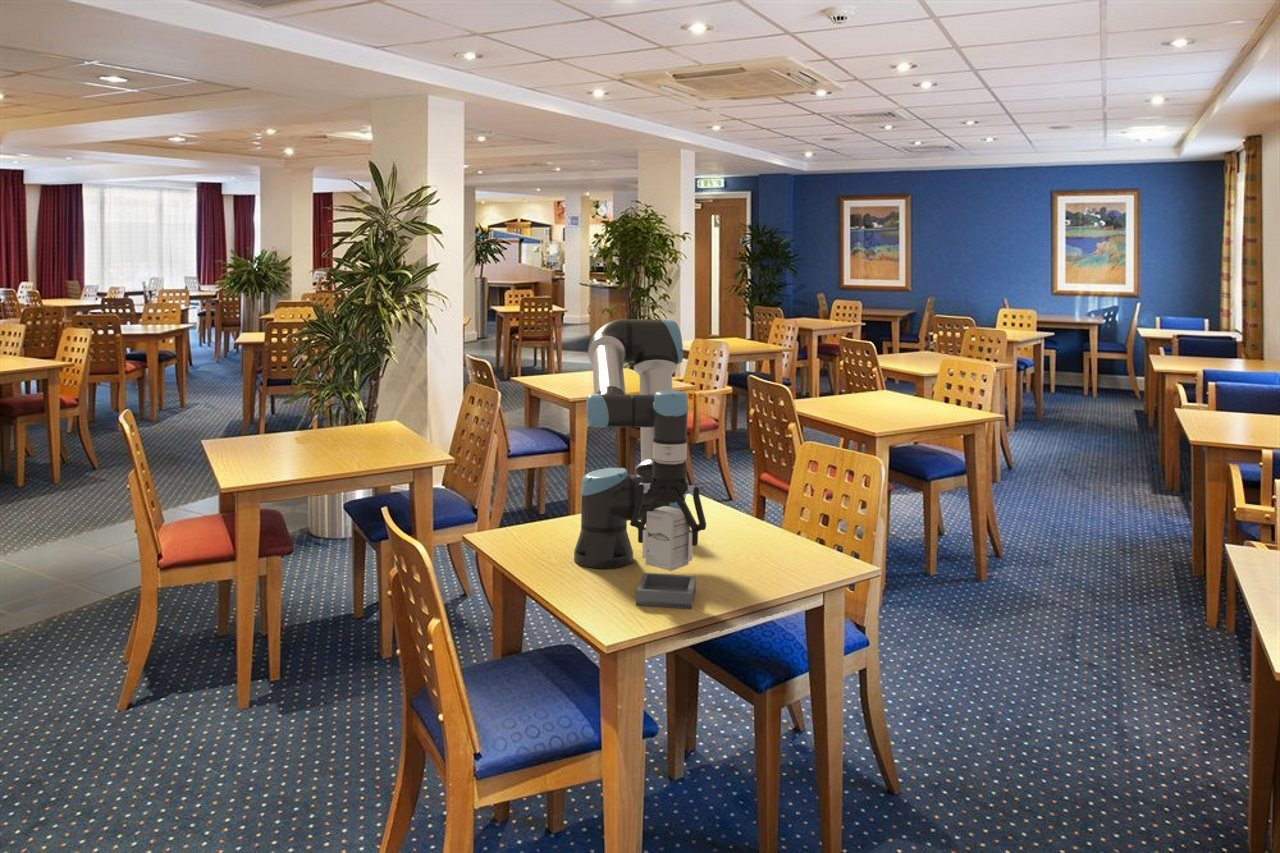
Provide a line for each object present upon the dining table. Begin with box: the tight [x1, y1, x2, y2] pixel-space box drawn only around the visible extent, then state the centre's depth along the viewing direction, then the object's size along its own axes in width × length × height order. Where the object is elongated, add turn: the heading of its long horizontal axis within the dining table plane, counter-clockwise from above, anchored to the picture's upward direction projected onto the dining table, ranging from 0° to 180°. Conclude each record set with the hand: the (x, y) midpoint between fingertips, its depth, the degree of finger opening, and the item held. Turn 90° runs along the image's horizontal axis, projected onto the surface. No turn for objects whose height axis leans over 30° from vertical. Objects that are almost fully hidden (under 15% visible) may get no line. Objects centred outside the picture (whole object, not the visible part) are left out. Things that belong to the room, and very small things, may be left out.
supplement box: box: [645, 506, 692, 572], centre depth 211 cm, size 7×7×13 cm
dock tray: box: [635, 572, 697, 610], centre depth 214 cm, size 12×12×4 cm
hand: (667, 557), depth 212 cm, fingers closed on supplement box, 10 cm apart
